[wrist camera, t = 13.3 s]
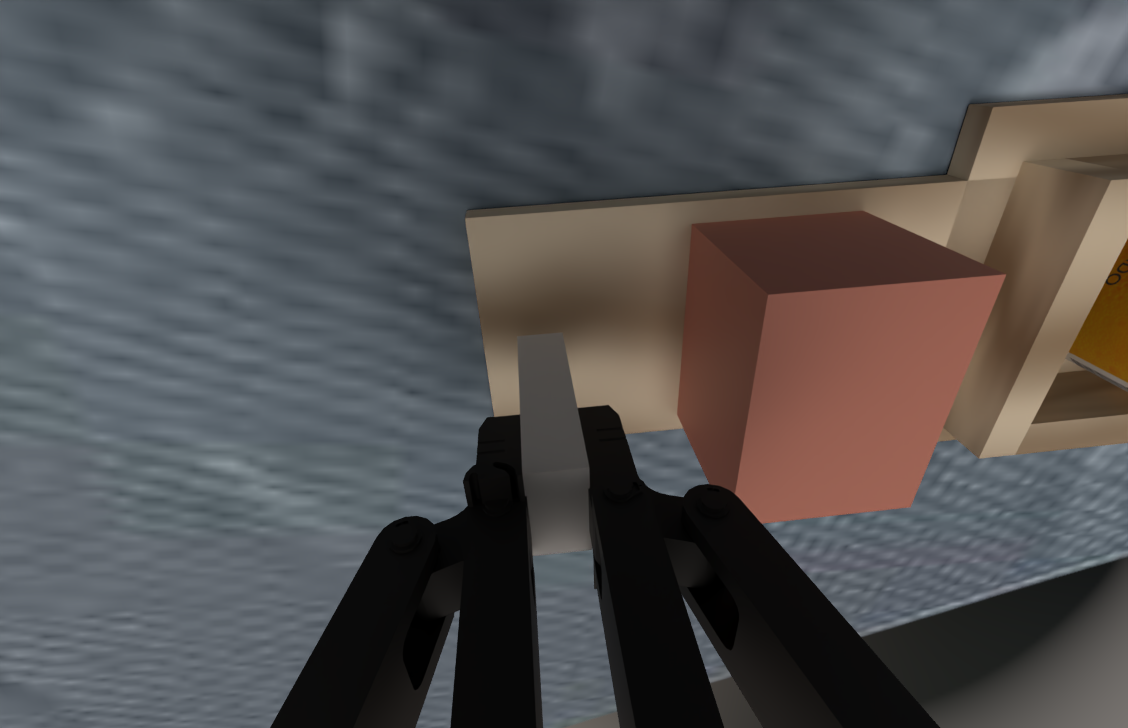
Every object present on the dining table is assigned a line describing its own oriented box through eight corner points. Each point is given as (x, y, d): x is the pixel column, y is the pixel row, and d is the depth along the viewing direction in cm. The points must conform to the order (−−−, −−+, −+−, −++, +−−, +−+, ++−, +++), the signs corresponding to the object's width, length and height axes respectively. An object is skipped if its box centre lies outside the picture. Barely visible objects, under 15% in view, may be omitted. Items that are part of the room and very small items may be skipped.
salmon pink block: (691, 223, 18) (768, 294, 12) (863, 210, 18) (1006, 274, 13) (677, 414, 22) (729, 526, 17) (816, 401, 22) (910, 507, 17)
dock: (456, 138, 16) (443, 161, 13) (1351, 78, 18) (1548, 85, 15) (504, 470, 24) (504, 541, 20) (1141, 405, 25) (1239, 460, 22)
